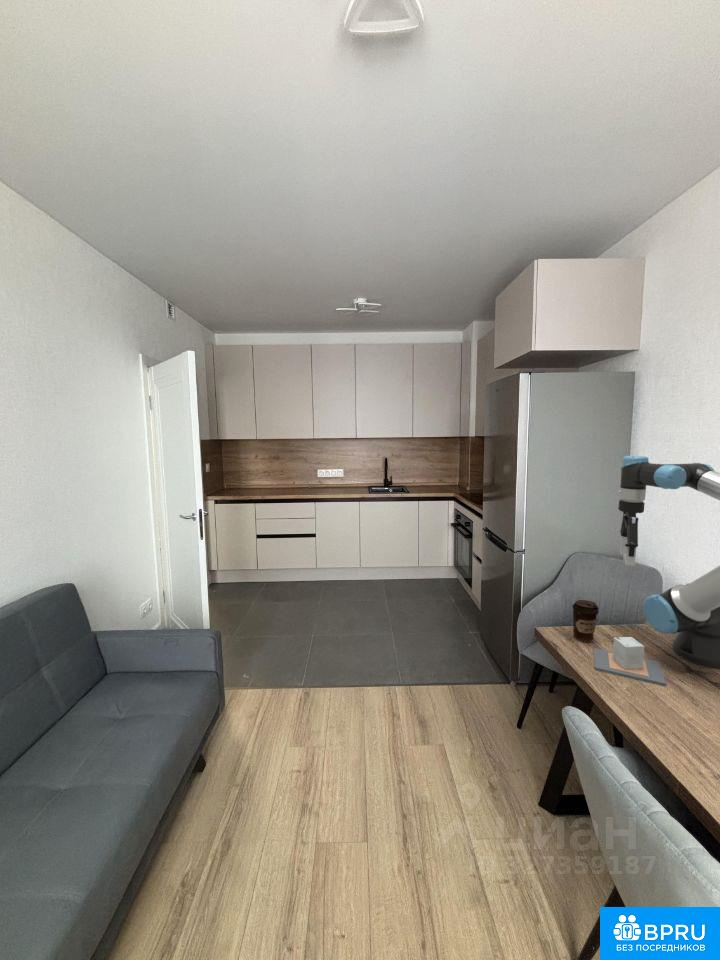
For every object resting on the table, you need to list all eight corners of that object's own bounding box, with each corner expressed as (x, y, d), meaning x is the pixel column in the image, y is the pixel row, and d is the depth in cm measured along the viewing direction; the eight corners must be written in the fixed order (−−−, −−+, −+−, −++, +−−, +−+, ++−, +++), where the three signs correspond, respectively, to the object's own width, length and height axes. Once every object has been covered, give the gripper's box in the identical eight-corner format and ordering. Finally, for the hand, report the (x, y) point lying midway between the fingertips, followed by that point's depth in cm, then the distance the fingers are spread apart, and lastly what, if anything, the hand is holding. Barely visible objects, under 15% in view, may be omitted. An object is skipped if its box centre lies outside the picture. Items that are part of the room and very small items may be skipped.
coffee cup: (602, 644, 145) (605, 608, 143) (577, 644, 145) (580, 608, 143) (589, 632, 153) (591, 598, 152) (566, 632, 154) (568, 598, 152)
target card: (658, 664, 133) (659, 661, 133) (666, 686, 121) (666, 683, 121) (593, 650, 141) (594, 647, 141) (594, 669, 130) (595, 666, 130)
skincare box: (643, 669, 128) (645, 646, 127) (623, 669, 128) (625, 646, 127) (630, 658, 134) (632, 636, 133) (611, 658, 134) (613, 636, 133)
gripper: (614, 494, 159) (610, 548, 162) (624, 505, 136) (619, 568, 139) (638, 495, 156) (633, 551, 158) (652, 507, 133) (646, 571, 136)
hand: (626, 559), depth 149 cm, fingers open, 13 cm apart
